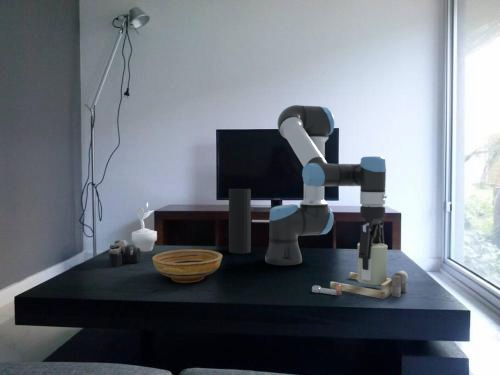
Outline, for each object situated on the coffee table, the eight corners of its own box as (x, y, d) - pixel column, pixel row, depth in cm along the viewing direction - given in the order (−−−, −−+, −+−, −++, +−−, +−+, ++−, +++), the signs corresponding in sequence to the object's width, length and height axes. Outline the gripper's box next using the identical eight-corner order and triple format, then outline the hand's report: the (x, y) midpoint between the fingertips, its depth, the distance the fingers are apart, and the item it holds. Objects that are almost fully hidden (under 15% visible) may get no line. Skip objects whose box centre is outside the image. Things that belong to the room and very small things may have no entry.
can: (389, 285, 113) (390, 246, 112) (358, 284, 114) (358, 245, 114) (385, 277, 122) (385, 241, 121) (355, 276, 123) (356, 240, 123)
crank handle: (312, 291, 115) (312, 282, 115) (314, 290, 116) (314, 280, 116) (340, 296, 110) (340, 286, 110) (342, 294, 112) (342, 284, 112)
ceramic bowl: (205, 293, 113) (205, 267, 113) (134, 288, 119) (133, 263, 119) (233, 270, 142) (233, 249, 141) (174, 266, 147) (174, 246, 147)
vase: (224, 253, 174) (224, 189, 174) (240, 250, 181) (240, 188, 181) (238, 256, 167) (238, 189, 166) (255, 253, 174) (255, 189, 173)
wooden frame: (330, 288, 118) (330, 267, 118) (350, 277, 131) (350, 259, 131) (397, 301, 105) (397, 278, 105) (413, 288, 118) (413, 268, 118)
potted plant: (143, 256, 167) (142, 200, 167) (126, 253, 174) (125, 199, 173) (164, 251, 178) (163, 199, 177) (147, 249, 184) (147, 198, 184)
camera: (133, 269, 144) (133, 243, 143) (106, 269, 143) (106, 243, 143) (143, 260, 159) (143, 237, 159) (119, 260, 159) (119, 237, 159)
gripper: (371, 208, 107) (371, 286, 107) (395, 204, 124) (394, 271, 124) (347, 207, 111) (346, 281, 112) (373, 203, 128) (372, 268, 129)
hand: (372, 276), depth 118 cm, fingers closed on can, 9 cm apart
